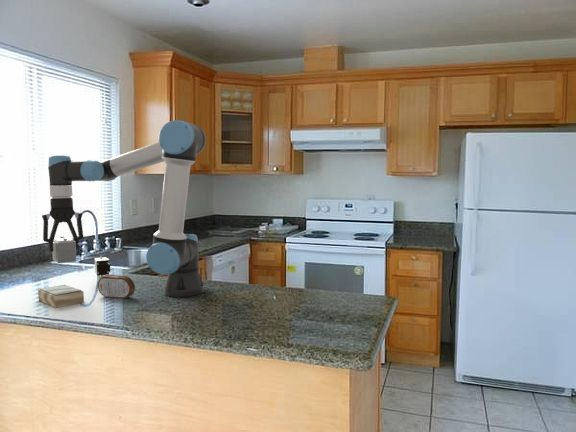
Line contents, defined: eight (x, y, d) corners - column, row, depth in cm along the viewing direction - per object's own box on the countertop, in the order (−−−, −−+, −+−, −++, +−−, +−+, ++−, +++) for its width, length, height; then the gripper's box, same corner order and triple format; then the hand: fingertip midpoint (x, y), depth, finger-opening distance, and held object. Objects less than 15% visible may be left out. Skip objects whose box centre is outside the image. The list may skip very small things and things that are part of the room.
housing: (71, 257, 187) (69, 235, 186) (75, 261, 177) (74, 238, 176) (54, 258, 184) (52, 236, 183) (58, 263, 174) (56, 239, 173)
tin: (135, 297, 181) (134, 275, 181) (130, 299, 178) (129, 277, 178) (102, 295, 186) (101, 274, 185) (96, 297, 183) (95, 275, 182)
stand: (83, 301, 176) (83, 290, 176) (55, 307, 169) (54, 295, 169) (66, 295, 187) (65, 284, 187) (38, 300, 180) (38, 288, 180)
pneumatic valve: (98, 287, 200) (96, 258, 199) (95, 282, 210) (94, 255, 209) (112, 285, 202) (110, 257, 201) (108, 280, 213) (107, 254, 212)
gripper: (86, 196, 187) (89, 255, 189) (31, 198, 176) (34, 260, 178) (90, 196, 181) (93, 257, 183) (33, 198, 170) (37, 263, 172)
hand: (64, 259), depth 180 cm, fingers closed on housing, 6 cm apart
